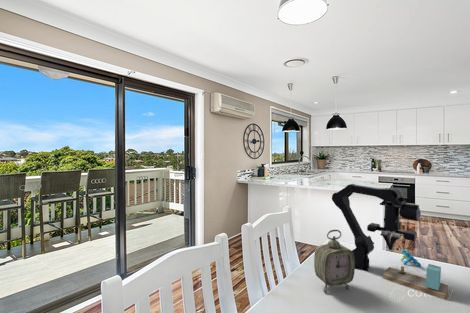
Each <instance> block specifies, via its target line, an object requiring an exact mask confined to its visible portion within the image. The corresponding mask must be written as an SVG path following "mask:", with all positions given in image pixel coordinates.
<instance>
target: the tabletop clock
mask: <svg viewBox="0 0 470 313" xmlns="http://www.w3.org/2000/svg"><path fill="white" fill-rule="evenodd" d="M333 232H338V233H339V236H337V237H336V236H335V235H333V236H332V238H331V237H329V234H330V233H333ZM341 237H342V232H341V230H339V229H332V230H329V231H328V232H327V234H326V238H327V239H328V242H327V243H326V244H321V245H317V246H316V247H315V249H314V257H313V262H314V265H313V266H314V273H315V276H316V277H317V278H318V279H319V280H321V281H322V282H323V283H324V285H325V286H324V287H325V288H323V293H325V294H327V293H328V289H327V288H328V286H329V287H335V286H337V287H338V286H342V285H345V289H346V290H350V285H349V283H351V282H352V281H353V279H354V277H355V269H356V268H355V257H354V253H353V251H352V250H351V249H349V248H348V247H345V246H344V245H342V244H340V242H339V241H338V239H340V238H341Z"/></svg>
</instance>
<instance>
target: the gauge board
mask: <svg viewBox="0 0 470 313" xmlns="http://www.w3.org/2000/svg"><path fill="white" fill-rule="evenodd" d="M382 279H383V280H386V281H390V282H392V283H395V284H398V285H401V286H404V287H406V288H409V289H413V290H415V291H418V292H422V293H424V294H426V295H430V296H432V297H436V298H439V299H441V298H442V299H443V300H444V299H445V300H446V299H447V295H448V292H449V284H445V283H442V282H440V288H439V290H435V289H432V288H429V287H426V277H422V276H420V275H417V274H414V273H410V272H407V271H405V267H404V266H403V265H401V267H400V269H397V268H394V267H391V266H388V267H387V269H386V270H385V271H384V272H383V273H382Z"/></svg>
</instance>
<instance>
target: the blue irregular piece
mask: <svg viewBox="0 0 470 313" xmlns="http://www.w3.org/2000/svg"><path fill="white" fill-rule="evenodd" d="M401 252H402V253H403V254H402V255H403V256H402V258H401V259H400V261H401V262H403V260H405V261H404V262H403V265H404V266H405V265H407V264H408V263H409V262H412V263H414V264H416V265H417V266H418V267H422V264H421V262H419V261H418V260H417V258H414V256H413V255H412V254H410V253H409V252H408V251H406V250H405V249H401Z"/></svg>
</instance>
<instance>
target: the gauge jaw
mask: <svg viewBox="0 0 470 313" xmlns="http://www.w3.org/2000/svg"><path fill="white" fill-rule="evenodd" d="M441 272H442V267H441V266H438V265H434V264H431V263H428V264H427V267H426V274H425V276H426V277H425V278H426V287H429V288H432V289H435V290H439V288H440V283H441V274H442V273H441Z"/></svg>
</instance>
